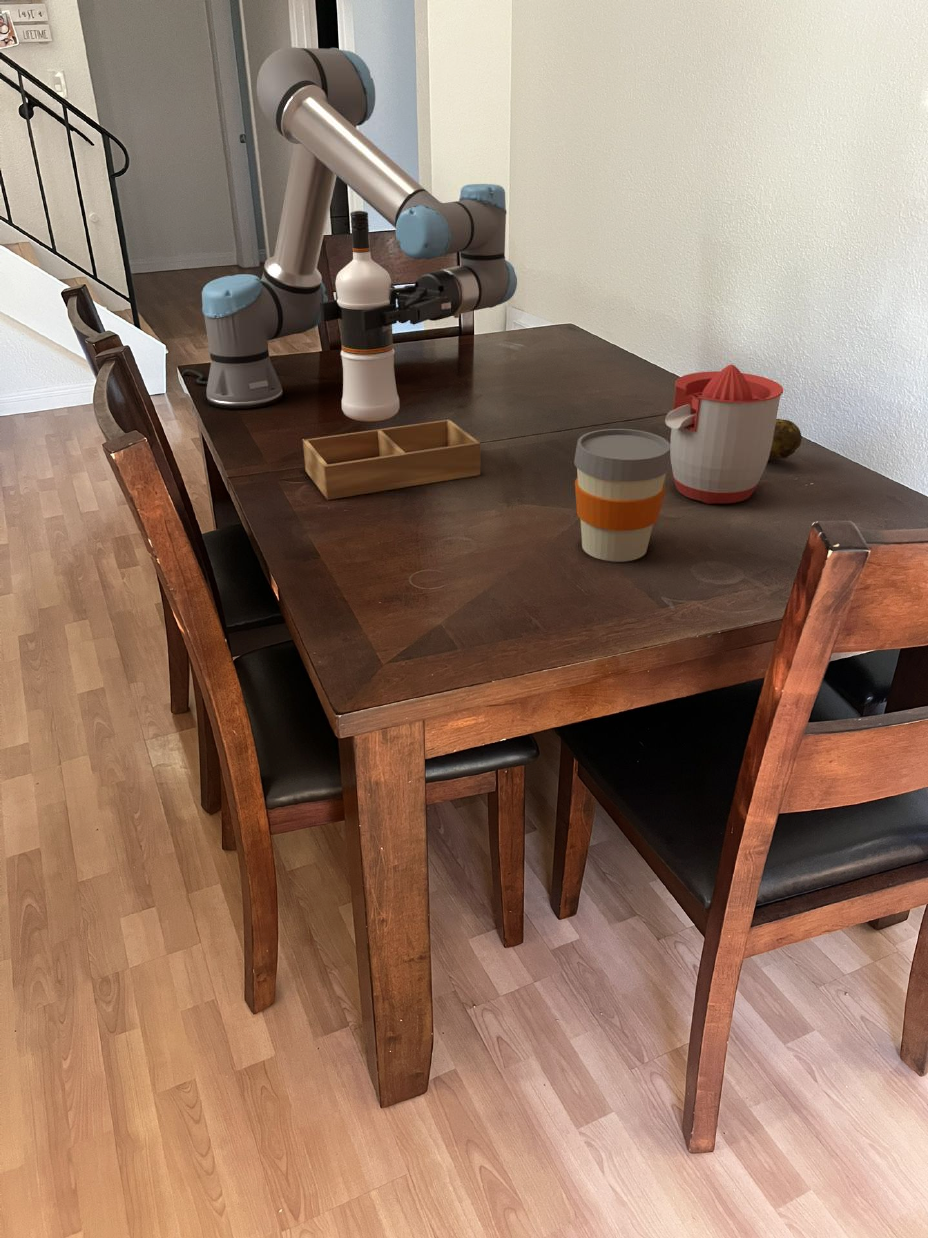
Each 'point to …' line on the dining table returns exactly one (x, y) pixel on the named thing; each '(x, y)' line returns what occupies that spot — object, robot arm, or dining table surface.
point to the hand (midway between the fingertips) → (342, 316)
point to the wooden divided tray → (390, 458)
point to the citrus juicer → (721, 433)
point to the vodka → (365, 333)
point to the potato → (785, 439)
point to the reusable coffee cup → (619, 490)
